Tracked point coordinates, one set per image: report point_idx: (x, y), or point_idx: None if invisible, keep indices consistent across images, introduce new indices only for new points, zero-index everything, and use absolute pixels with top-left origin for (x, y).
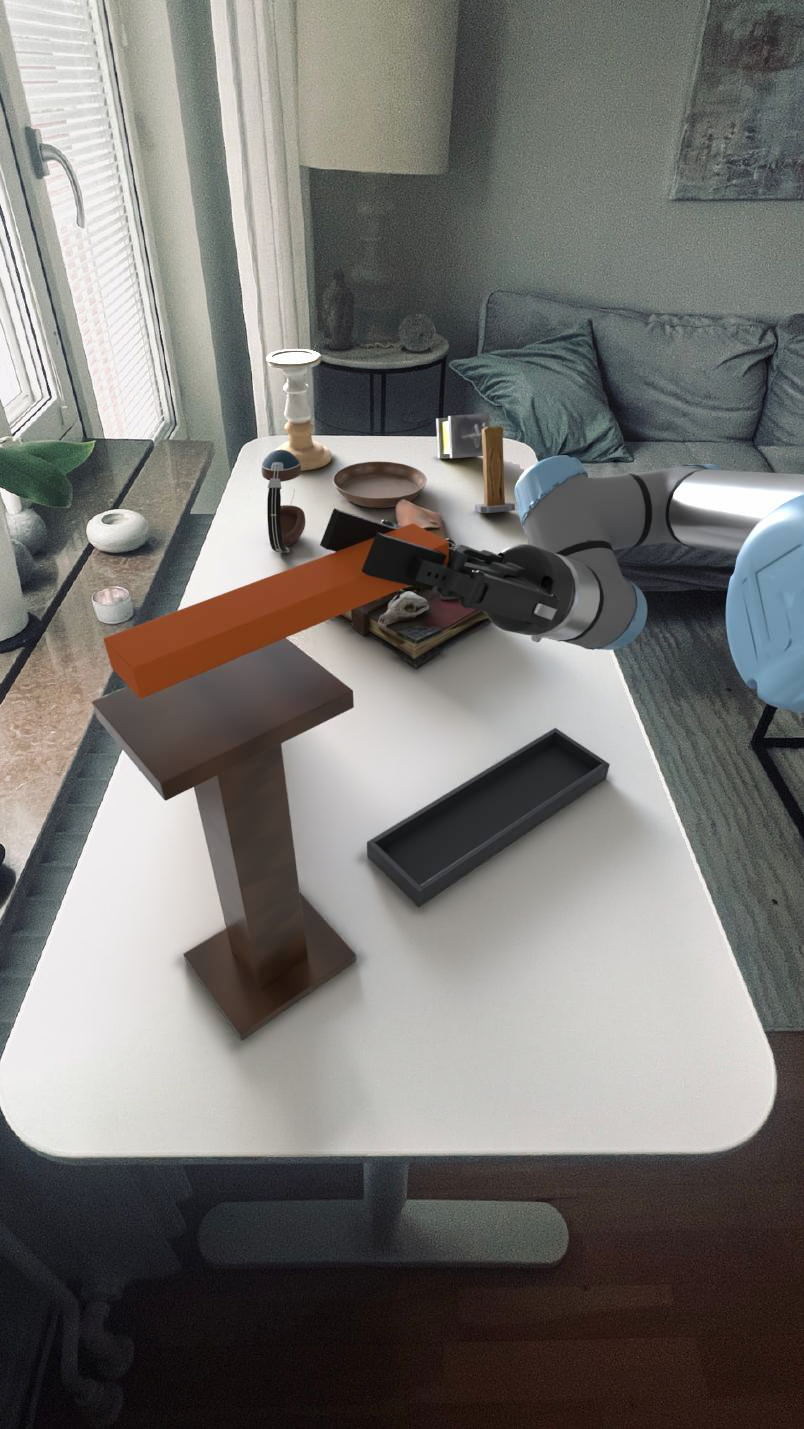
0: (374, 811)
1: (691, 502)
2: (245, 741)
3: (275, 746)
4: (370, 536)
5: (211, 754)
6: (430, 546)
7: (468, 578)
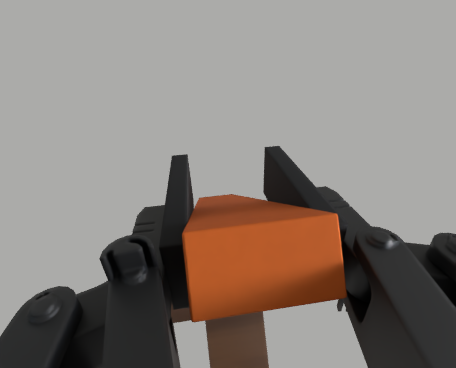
0: None
1: None
2: None
3: None
4: (285, 199)
5: None
6: (196, 222)
7: (77, 296)
